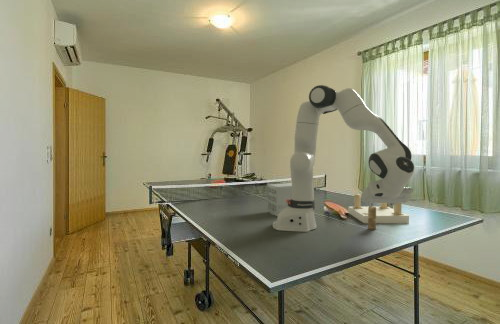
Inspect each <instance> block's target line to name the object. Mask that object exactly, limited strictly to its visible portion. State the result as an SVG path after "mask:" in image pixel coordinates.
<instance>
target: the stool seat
mask: <svg viewBox="0 0 500 324" xmlns="http://www.w3.org/2000/svg"><path fill="white" fill-rule="evenodd" d="M361 195H362V194H359V193H354V195H353V196H354V199H353V203H354V206H348V211H349V213H348V214H349V215H351V216H352V217H354V218H356V219H357V220H358V221H360V222H361V223H363V224H368V207H369V206H368V205H367V206H362V203H361V201H362V198H361ZM402 204H403V203H397V204H395V205H393V209H392V208H390V207H387V203H380V206H375V205H373V206H374V207H376V224H409V223H410V215H408V214H406V213H403V212H402ZM348 211H347V212H348Z"/></svg>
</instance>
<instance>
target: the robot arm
mask: <svg viewBox="0 0 500 324" xmlns="http://www.w3.org/2000/svg"><path fill="white" fill-rule="evenodd" d="M308 100H309V101H305V102H302V103H301V104H300V105H299V108H298V111H297V117H296V122H295V131H294V132H295V133H294V149H293V150H294V151H293V152H294V154H292V155H291V157H290V160H289V165H290V166H289V168H290V178H291V183H292V199H290V200H289V199H287V200H286V202H287V203H288V207H286V208H285V209H284V210H282V211H281V212H280V213H279V214H278V216H277V218H276V221H273V222H272V228H273V229H274V230H277V231H285V232H286V231H287V232H301V233H302V232H304V233H305V232H306V233H308V232H310V231H312V230H315V229H317V222H316V218H315V208H316V207H315V206H316V205H315V199H314V198H315V197H314V196H315V195H314V194H315V193H314V190H315V187H314V185H315V184H314V166H315V161H316V152H317V139H318V132H319V131H318V130H319V123H320V122H319V121H320V117H321V115H322V114H323V115H325V114H328V113H333V112H336V111H338V112H339V114H340V115H341V117H342V119H343V122H344V123H345V124H346V126H348V127H349V128H350V129H352V130H355V131H366V132H368V131H369V132H371V133H374V134H376V136H378V138H379V139H380V140H381V141H382V142H383V144H384V145H385V146H386V148H384V149H380V150H378V151H376V152H373V153H371V154H370V155H369V158H368V167H369V169H370V171H371V172H372V173H374V174H375V175H376V176H378V178H380V179H378V180H373V181H369V182H368V184H367V185H368V186H366V187H365V189H364V190H363V191H362V193H361V194H360V195H361V201H362V203H364V204H367V206H369V207H372V206H374V204H381V203H388V205H389V207H393V208H394V205H395V204H397V203H402V204H406V203H407V202H409V200H410V198H411V195H412V194H413V192H414V189H413V188H412V187H409V186H408V187H406V185H408V183H409V182H410V180H411V179H412V177H413V174H414V173H415V172H414V171H415V165H414V162H413V161H412V158H413V157H412V155H413V154H412V152H411V149H410V148H409V147H408V146H407V145H406V144H405V143H404V142H402V140H400V138H399V137H398V136H397V135H396V133H394V131H393V130H392V129H391V128H390V126H389V125H388V123H386V121H385V120H384V119H382V117H381V116H379V115H377V114H375V113H374V112H372V110H370V109H369V107H367V105H366V103H365V102H364V100H363V99H362V97H361V96H360V95H359V94H358V93H357V91H356V90H354V89H353V88H345V89H342V90H341V91H336V90H335V89H334V88H331V87H330V86H327V85H324V84H321V85H319V84H318V85H316V86H314V87H312V88H311V90H310V91H309V94H308Z"/></svg>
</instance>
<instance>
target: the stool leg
mask: <svg viewBox="0 0 500 324" xmlns="http://www.w3.org/2000/svg"><path fill="white" fill-rule="evenodd" d="M374 206H375V205H373V206H372V207H368V223H367V229H368V230H372V231H374V230H375V231H376V229H377V223H376V207H374Z"/></svg>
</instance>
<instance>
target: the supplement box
mask: <svg viewBox="0 0 500 324" xmlns="http://www.w3.org/2000/svg"><path fill="white" fill-rule="evenodd" d="M287 199H289V200H290V199H292V182H286V183H272V184H270V183H268V184H267V209H268V211H267V213H269V212H270V213H269V214H271V213H272V214H271V215H272V216H274V215H275V216H274V217H276V216H277V217H278V214H279V213H280V212H281V211H282V210H284V209H285V208H286V207H288V203H287V202H286V200H287Z"/></svg>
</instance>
